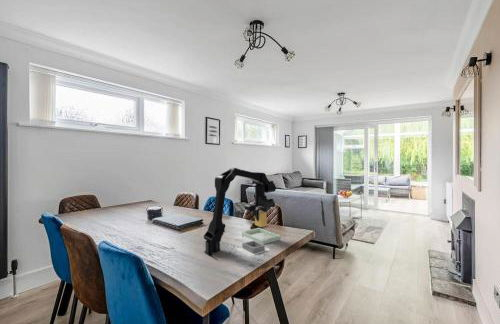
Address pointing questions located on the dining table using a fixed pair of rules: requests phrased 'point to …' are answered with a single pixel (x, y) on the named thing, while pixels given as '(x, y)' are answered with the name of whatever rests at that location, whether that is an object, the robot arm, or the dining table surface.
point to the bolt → (254, 226)
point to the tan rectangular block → (261, 219)
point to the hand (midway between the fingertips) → (260, 220)
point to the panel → (252, 248)
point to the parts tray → (258, 230)
